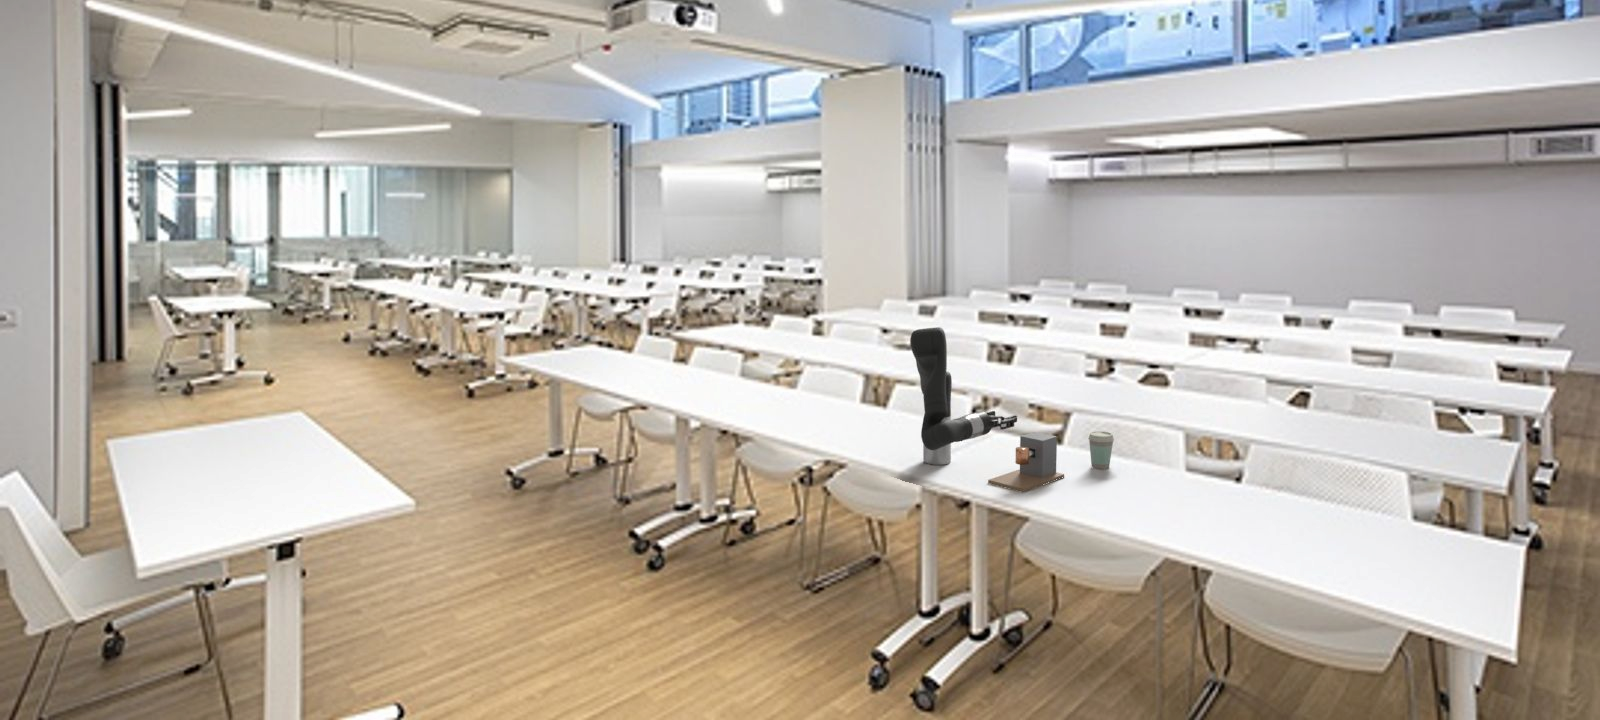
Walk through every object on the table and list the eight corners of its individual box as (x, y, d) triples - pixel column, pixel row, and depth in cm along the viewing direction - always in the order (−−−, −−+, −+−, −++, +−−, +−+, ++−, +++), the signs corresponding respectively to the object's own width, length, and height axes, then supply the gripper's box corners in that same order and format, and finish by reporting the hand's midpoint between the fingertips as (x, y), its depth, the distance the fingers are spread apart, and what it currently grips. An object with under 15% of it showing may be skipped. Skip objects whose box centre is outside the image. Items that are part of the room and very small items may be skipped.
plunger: (1023, 465, 298) (1024, 450, 297) (1012, 463, 301) (1012, 448, 300) (1048, 457, 307) (1048, 443, 306) (1037, 455, 310) (1037, 441, 309)
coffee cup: (1114, 471, 312) (1115, 437, 310) (1088, 470, 313) (1089, 436, 312) (1111, 464, 320) (1112, 431, 318) (1086, 463, 322) (1087, 430, 320)
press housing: (1023, 492, 291) (1023, 450, 289) (988, 483, 301) (988, 442, 299) (1064, 477, 306) (1065, 437, 303) (1029, 469, 316) (1029, 430, 314)
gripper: (992, 417, 276) (1023, 408, 286) (955, 410, 286) (987, 401, 297) (991, 441, 277) (1023, 431, 287) (955, 433, 288) (987, 423, 298)
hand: (1005, 416), depth 292 cm, fingers open, 8 cm apart
